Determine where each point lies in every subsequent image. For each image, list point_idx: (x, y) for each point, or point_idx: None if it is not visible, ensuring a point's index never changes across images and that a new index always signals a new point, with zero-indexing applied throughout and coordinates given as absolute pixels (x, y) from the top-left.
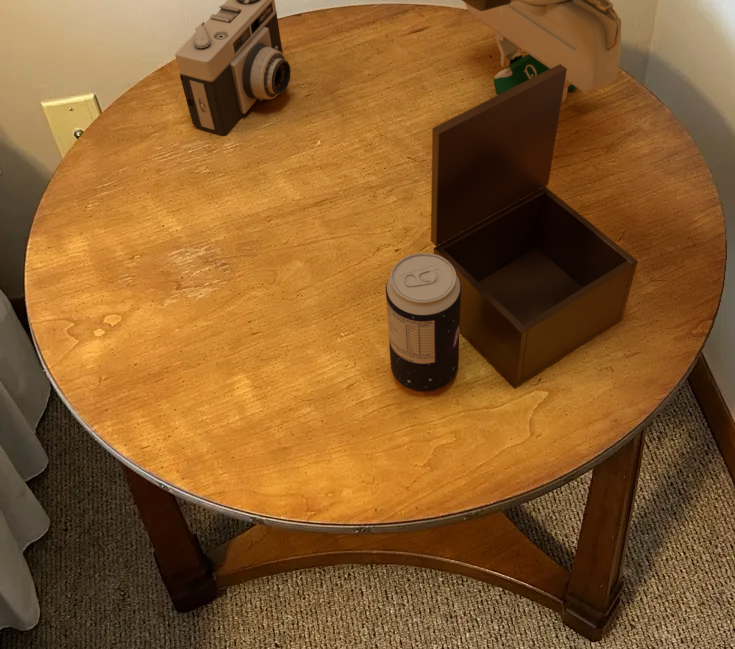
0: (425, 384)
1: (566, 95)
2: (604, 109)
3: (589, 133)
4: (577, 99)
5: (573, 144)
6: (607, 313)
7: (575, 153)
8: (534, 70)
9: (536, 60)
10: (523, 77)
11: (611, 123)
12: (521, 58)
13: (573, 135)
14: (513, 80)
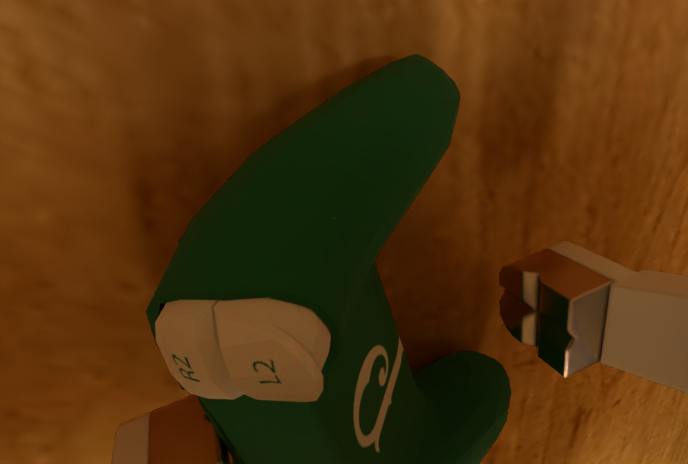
0: None
1: (577, 246)
2: (578, 22)
3: (622, 169)
4: (463, 104)
5: (618, 245)
6: None
7: (643, 255)
8: (366, 368)
9: (329, 370)
10: (393, 436)
11: (643, 54)
12: (256, 459)
13: (595, 228)
14: None
